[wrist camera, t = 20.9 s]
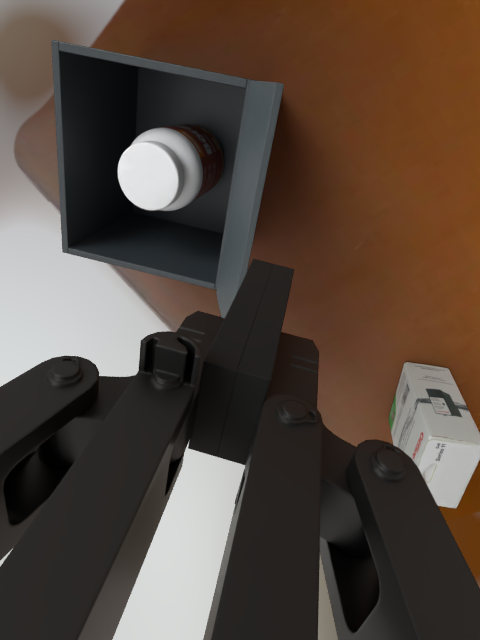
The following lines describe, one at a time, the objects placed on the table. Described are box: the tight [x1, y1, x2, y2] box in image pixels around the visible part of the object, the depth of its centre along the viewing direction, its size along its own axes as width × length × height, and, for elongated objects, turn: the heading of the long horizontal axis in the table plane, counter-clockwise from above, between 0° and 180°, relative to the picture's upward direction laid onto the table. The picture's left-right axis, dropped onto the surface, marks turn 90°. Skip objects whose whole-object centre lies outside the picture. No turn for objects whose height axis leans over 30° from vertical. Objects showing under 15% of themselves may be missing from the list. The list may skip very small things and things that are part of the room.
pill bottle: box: [118, 124, 224, 211], centre depth 33 cm, size 6×6×11 cm
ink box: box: [389, 362, 480, 508], centre depth 41 cm, size 9×5×12 cm, turn 177°
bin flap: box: [217, 81, 284, 318], centre depth 24 cm, size 14×6×1 cm
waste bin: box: [51, 40, 255, 290], centre depth 33 cm, size 14×13×12 cm
